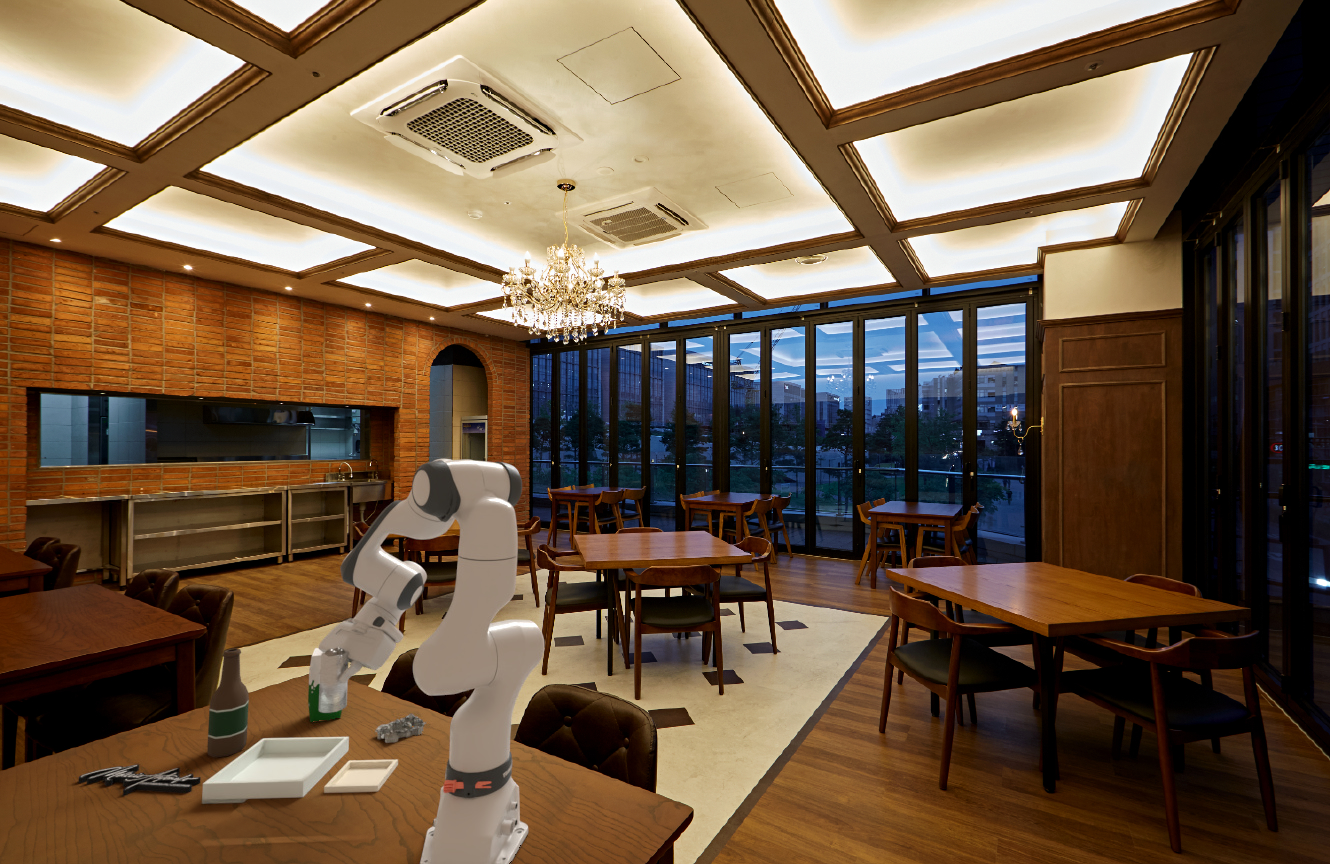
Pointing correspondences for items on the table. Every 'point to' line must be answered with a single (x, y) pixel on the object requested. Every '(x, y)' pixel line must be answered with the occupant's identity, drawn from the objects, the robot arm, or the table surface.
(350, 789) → the tray
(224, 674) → the beer bottle
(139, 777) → the nameplate
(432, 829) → the robot arm
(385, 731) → the egg carton
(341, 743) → the bin
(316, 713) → the milk carton
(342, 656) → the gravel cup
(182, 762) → the table surface
